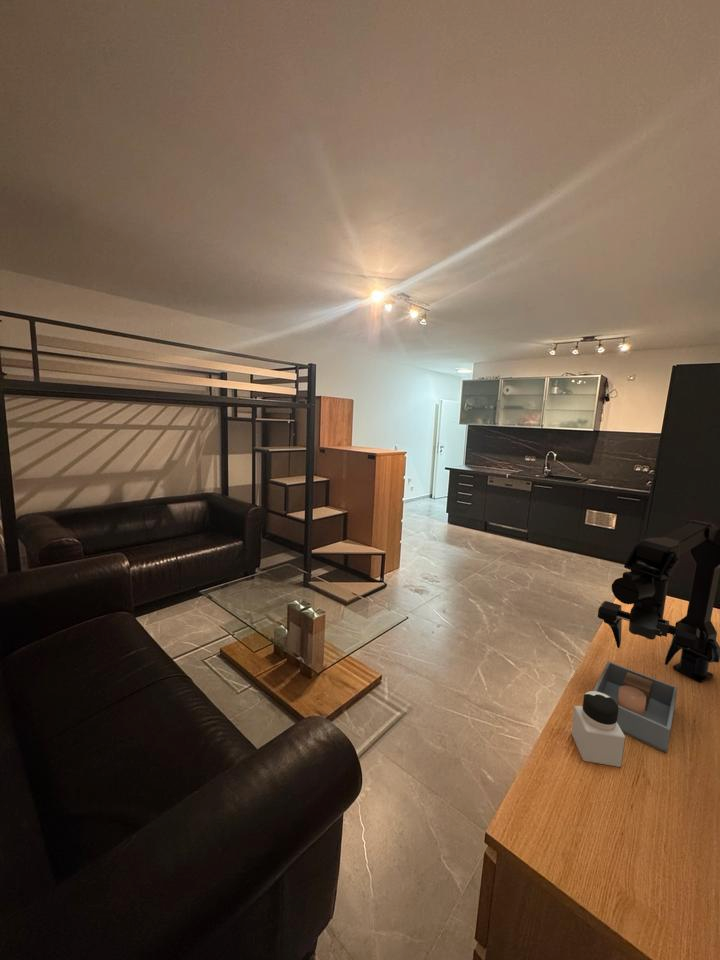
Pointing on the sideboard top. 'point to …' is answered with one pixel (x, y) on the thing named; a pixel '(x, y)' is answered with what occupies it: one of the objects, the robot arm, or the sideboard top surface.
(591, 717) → the medicine bottle
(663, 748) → the tote
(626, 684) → the walnut cube
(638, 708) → the terracotta cylinder
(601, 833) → the sideboard top surface
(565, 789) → the sideboard top surface
